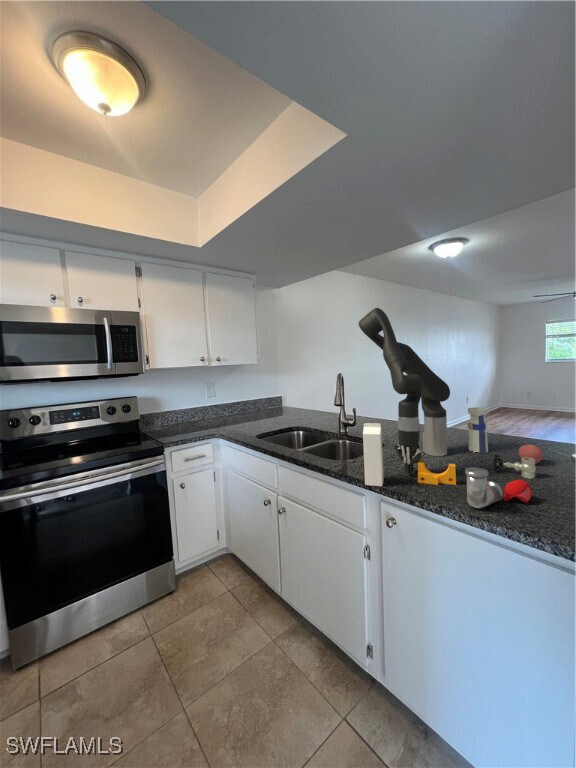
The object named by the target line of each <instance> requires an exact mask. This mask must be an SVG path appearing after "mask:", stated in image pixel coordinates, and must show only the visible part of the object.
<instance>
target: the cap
mask: <svg viewBox="0 0 576 768" xmlns="http://www.w3.org/2000/svg"><path fill="white" fill-rule="evenodd" d="M533 494H534V493H533V489H532V487H531V485H530V483H528V482H527V481H525V480H523V479H514V480H512V481H510V482H507V483H506V486H505V487H504V496H503V500H504V501H505V502H508V501H510V500H512V499H513V498H514V497H515V498H517V499H519V500H520V501H522V502H523V503H525V504H528V503H529V501H530V500H531V498H532V496H533Z"/></svg>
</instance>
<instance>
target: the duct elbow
mask: <svg viewBox="0 0 576 768" xmlns="http://www.w3.org/2000/svg"><path fill="white" fill-rule="evenodd" d="M464 474H465V475H466V499H467V503H468V504H469V506H471V507H473V508H475V509H478V510H480V509H484V508H485V507H488V506H490V505H491V504H494V503H496V502H499V501H501V500H502V499H504V494H505V491H504V489H503V487H502V486H501V485H500V484H499V483H497V482H495V481H492V480H489V481H488V477H489V471H488V470H486V469H485V468H481V467H473V466H472V467H466V468H465V469H464Z"/></svg>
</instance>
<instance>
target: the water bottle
mask: <svg viewBox="0 0 576 768" xmlns="http://www.w3.org/2000/svg"><path fill="white" fill-rule="evenodd" d="M468 398H469V397H468V396H466V404H468V400H469V399H468ZM467 413H468V416H469V417H470V418H469V421H468V423H467V428H468V449H469V450H470V451H469V450H468V451H469V452H471V451H473V452H472V453H475V452H479V453H478V454H487V453H489V445H488V431H487V424H488V421H487V420H486V416H487V415H488V414H489V410H488V408H487V407H468V408H467ZM486 452H487V453H486Z"/></svg>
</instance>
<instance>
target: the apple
mask: <svg viewBox="0 0 576 768" xmlns="http://www.w3.org/2000/svg"><path fill="white" fill-rule="evenodd" d="M518 456H519V458H520V459H521V458H524V457H528V458H533V459H534V460H535V464H534V465H536V464H538V463H540V462H541V461H542V460H543V457H544V452H543V450H542V449H541V448H540V447H538V446H537V445H533V444H524V445H521V446H520V447H519V449H518Z"/></svg>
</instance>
